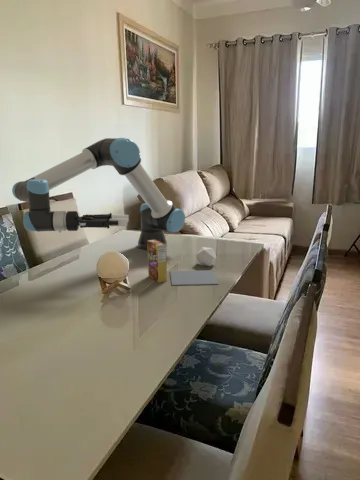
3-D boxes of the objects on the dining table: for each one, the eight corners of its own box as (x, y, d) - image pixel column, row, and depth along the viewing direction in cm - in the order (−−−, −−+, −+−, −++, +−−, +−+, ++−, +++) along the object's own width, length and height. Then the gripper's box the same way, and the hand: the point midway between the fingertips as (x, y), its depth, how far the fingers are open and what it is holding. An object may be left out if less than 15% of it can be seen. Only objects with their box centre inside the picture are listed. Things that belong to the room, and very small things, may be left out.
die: (218, 264, 175) (210, 245, 178) (219, 260, 167) (210, 241, 169) (202, 271, 175) (194, 252, 178) (201, 267, 167) (193, 247, 169)
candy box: (147, 276, 158) (146, 240, 154) (156, 274, 160) (156, 238, 156) (157, 283, 151) (157, 245, 147) (167, 281, 153) (167, 243, 149)
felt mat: (170, 271, 163) (170, 271, 163) (212, 271, 165) (212, 270, 164) (171, 285, 148) (171, 284, 148) (218, 284, 149) (218, 283, 149)
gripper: (72, 225, 158) (129, 224, 159) (61, 236, 139) (126, 235, 140) (71, 207, 156) (129, 206, 157) (60, 216, 137) (125, 215, 138)
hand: (127, 220), depth 149 cm, fingers open, 7 cm apart
